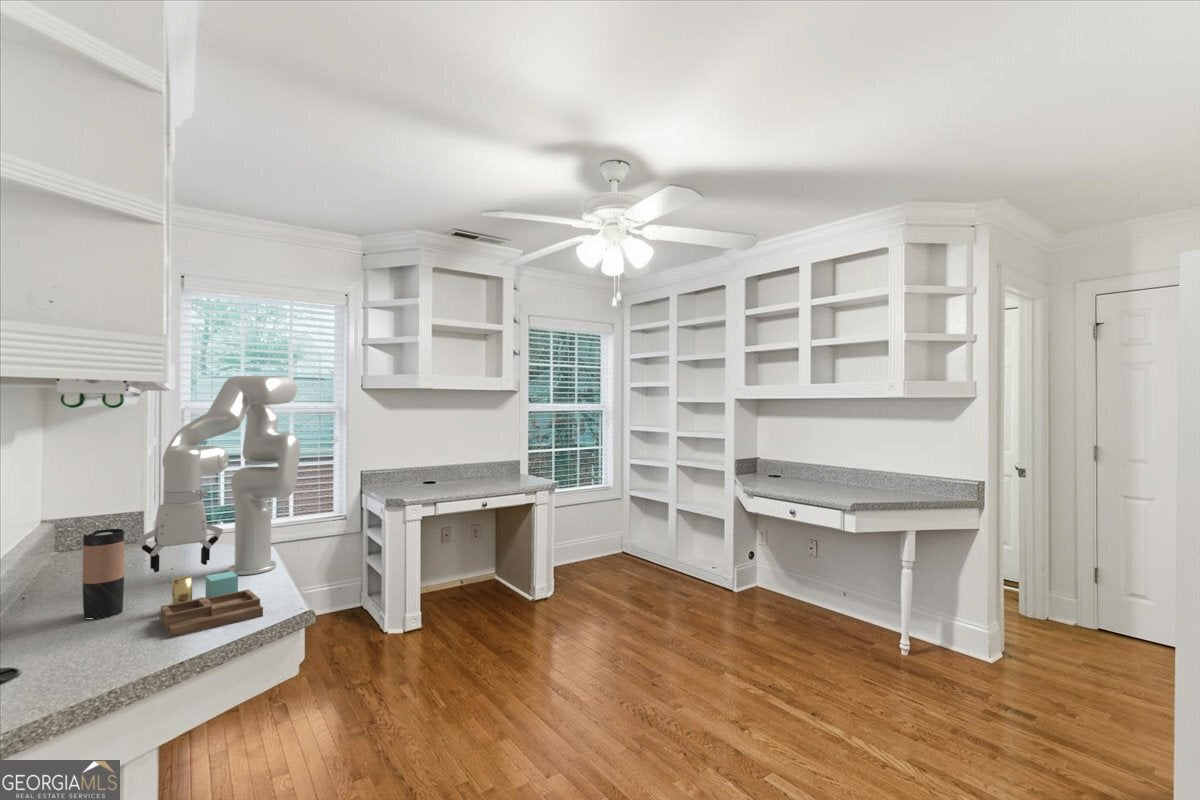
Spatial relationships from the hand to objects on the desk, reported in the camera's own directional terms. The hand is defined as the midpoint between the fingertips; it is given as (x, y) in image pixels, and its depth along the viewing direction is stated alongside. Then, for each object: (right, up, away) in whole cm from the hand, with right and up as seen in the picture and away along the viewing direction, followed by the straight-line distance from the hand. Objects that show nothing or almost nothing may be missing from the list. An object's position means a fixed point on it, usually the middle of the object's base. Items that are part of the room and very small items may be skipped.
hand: (180, 567), depth 140 cm
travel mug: (-17, -11, -2) cm, 20 cm away
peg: (0, -11, +1) cm, 11 cm away
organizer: (+11, -11, -4) cm, 16 cm away
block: (+4, -11, +9) cm, 15 cm away
